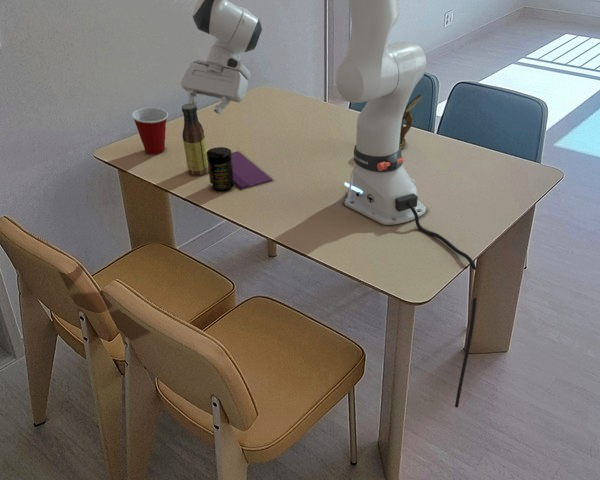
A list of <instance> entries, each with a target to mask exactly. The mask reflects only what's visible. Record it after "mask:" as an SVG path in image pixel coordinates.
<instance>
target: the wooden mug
mask: <svg viewBox="0 0 600 480" xmlns="http://www.w3.org/2000/svg"><path fill="white" fill-rule="evenodd" d="M421 100H422V94H420V93H419V94H418V95H417V96H416V97H415V98H413V99H412V100H411V101H410V102H408V103H407V106H406V108H405V111H404V114H403V118H402V123H401V131H400V141H399V147H400V150H401V151H402V150H403V149H404V148H405V147H406V144H407V143H406V141H407V140H406V138H405V137H406V135H407V133H408V132H409V131H410V130H411V128H412V125H413V115H412V110H413V109H414V108H415V107H416V106H417V104H418V103H419V102H420V101H421ZM405 121H406V125H405V124H404V122H405ZM404 125H405V126H404Z"/></svg>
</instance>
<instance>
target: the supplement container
mask: <svg viewBox="0 0 600 480" xmlns="http://www.w3.org/2000/svg"><path fill="white" fill-rule="evenodd" d="M232 153H233V152H232V150H231V149H230V148H228V147H224V146H219V147H213V148H210V149H207V161H208V170H209V171H208V177H209V186H210V189H212V191H214V192H217V193H224V192H225V193H226V192H228V191H231V190H232V189H233V188H234V186H235V184H234V177H233V166H232Z"/></svg>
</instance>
